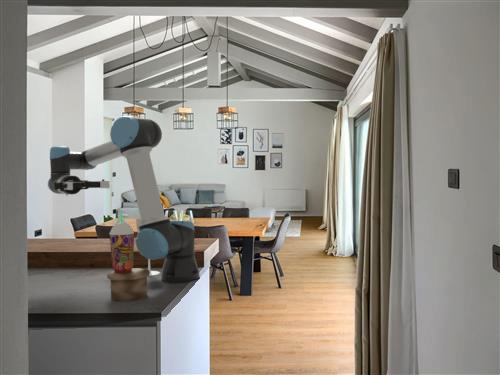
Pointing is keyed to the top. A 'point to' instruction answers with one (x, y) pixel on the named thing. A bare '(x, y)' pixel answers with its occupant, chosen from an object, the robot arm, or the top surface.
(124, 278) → the tan muffin-shaped cylinder
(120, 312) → the top surface
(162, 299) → the top surface
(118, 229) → the smoothie
